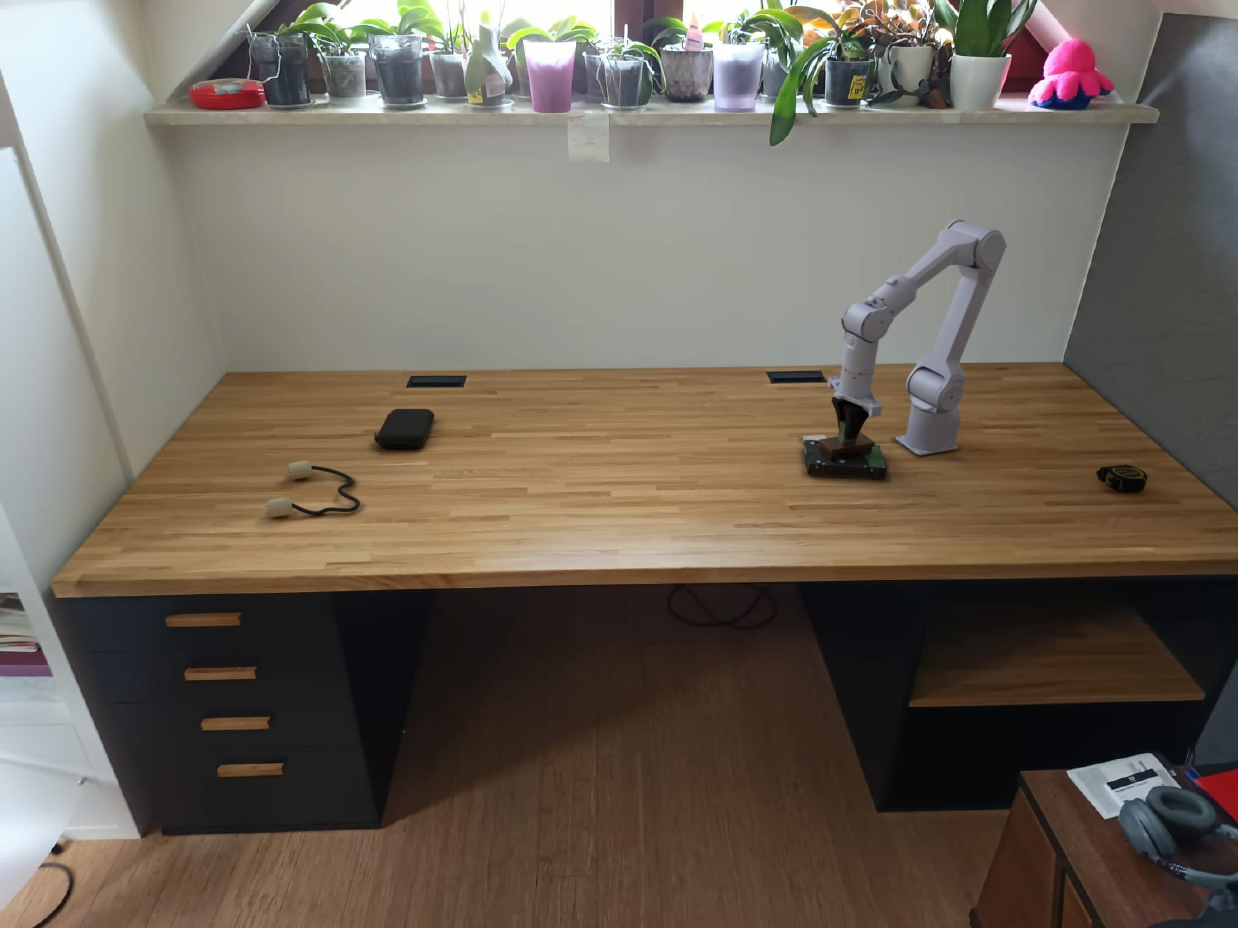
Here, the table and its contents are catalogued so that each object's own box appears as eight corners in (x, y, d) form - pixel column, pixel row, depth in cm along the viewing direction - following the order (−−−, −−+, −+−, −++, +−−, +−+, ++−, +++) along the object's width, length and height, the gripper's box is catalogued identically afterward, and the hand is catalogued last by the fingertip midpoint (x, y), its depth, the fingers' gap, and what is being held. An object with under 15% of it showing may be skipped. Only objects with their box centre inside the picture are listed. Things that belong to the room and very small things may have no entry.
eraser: (829, 441, 175) (828, 445, 176) (824, 434, 178) (824, 439, 178) (807, 442, 175) (806, 446, 175) (803, 435, 177) (802, 439, 178)
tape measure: (1125, 477, 165) (1131, 460, 163) (1151, 496, 159) (1157, 478, 157) (1093, 480, 164) (1098, 463, 162) (1118, 499, 158) (1123, 481, 156)
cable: (372, 471, 165) (370, 455, 163) (357, 517, 151) (354, 500, 149) (288, 473, 164) (285, 457, 162) (264, 521, 149) (260, 503, 148)
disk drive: (806, 477, 165) (887, 480, 163) (808, 464, 163) (889, 467, 162) (802, 451, 174) (878, 454, 172) (803, 439, 172) (880, 441, 171)
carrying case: (386, 418, 185) (370, 451, 172) (384, 405, 183) (368, 437, 170) (436, 418, 185) (424, 451, 172) (435, 405, 183) (423, 437, 171)
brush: (859, 443, 170) (864, 413, 167) (873, 453, 166) (878, 423, 163) (817, 451, 167) (821, 420, 164) (830, 461, 164) (834, 430, 160)
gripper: (817, 357, 163) (809, 422, 170) (862, 387, 151) (851, 455, 158) (849, 353, 166) (840, 417, 172) (896, 381, 154) (884, 449, 160)
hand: (847, 435), depth 165 cm, fingers closed on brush
